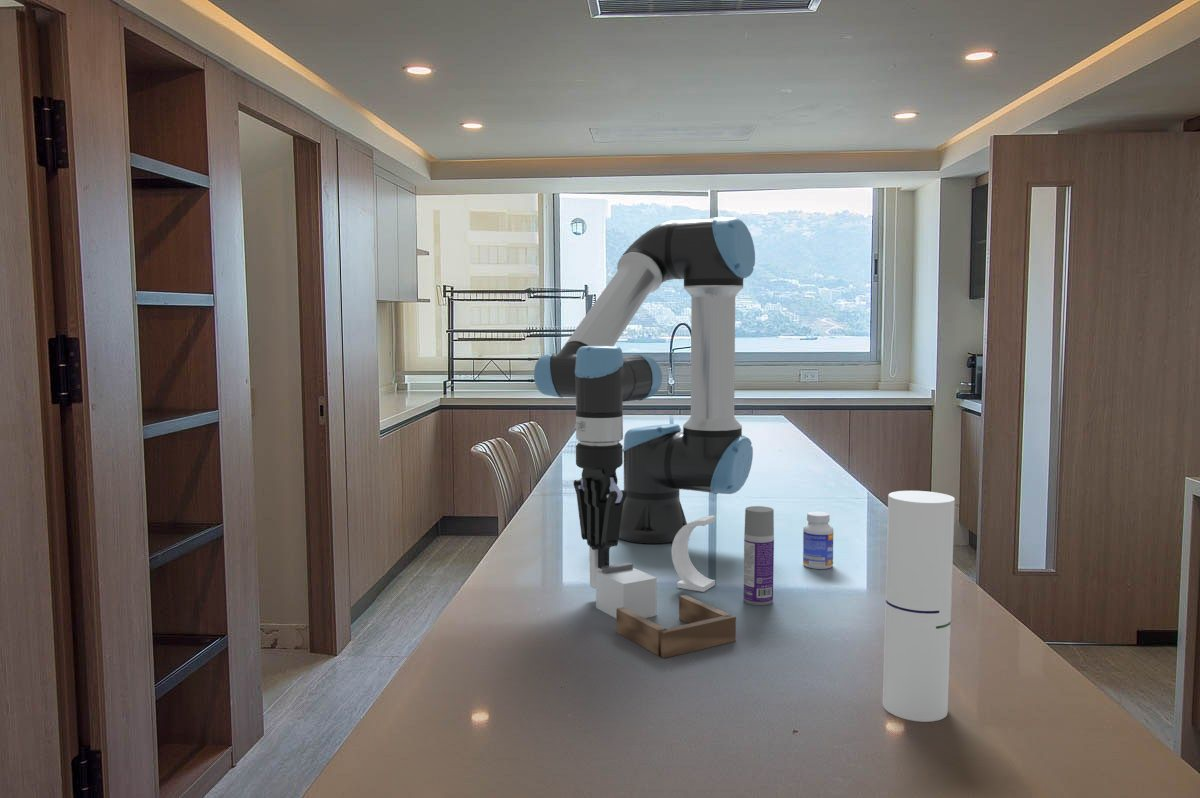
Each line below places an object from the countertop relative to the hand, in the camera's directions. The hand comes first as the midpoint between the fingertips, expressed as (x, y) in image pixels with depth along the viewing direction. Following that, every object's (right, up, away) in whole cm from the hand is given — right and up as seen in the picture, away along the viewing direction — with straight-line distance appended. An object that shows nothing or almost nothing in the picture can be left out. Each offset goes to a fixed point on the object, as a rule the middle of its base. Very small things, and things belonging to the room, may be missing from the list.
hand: (599, 586), depth 146 cm
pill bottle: (+40, 0, +19) cm, 44 cm away
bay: (+11, -4, -17) cm, 21 cm away
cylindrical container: (+37, -6, -41) cm, 56 cm away
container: (+26, -2, -1) cm, 26 cm away
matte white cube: (+4, -3, -6) cm, 8 cm away
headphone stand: (+16, -2, +7) cm, 17 cm away
